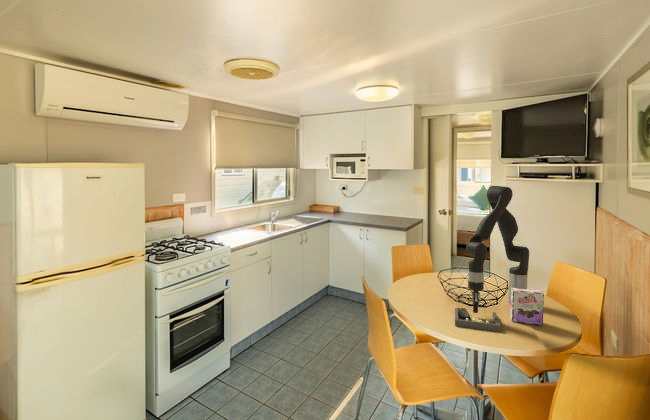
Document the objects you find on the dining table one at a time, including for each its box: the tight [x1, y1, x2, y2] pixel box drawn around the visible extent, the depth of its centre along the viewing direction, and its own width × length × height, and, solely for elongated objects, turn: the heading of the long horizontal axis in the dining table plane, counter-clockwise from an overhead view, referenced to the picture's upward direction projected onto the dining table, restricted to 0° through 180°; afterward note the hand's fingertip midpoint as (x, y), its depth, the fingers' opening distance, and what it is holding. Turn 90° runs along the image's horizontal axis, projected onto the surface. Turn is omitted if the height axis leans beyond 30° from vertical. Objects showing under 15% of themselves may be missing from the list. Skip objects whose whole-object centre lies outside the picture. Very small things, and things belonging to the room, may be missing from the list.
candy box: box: [509, 288, 545, 326], centre depth 171 cm, size 14×6×16 cm, turn 68°
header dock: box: [454, 307, 502, 333], centre depth 170 cm, size 20×20×4 cm
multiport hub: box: [457, 307, 471, 321], centre depth 180 cm, size 4×14×2 cm, turn 166°
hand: (475, 312), depth 175 cm, fingers closed
